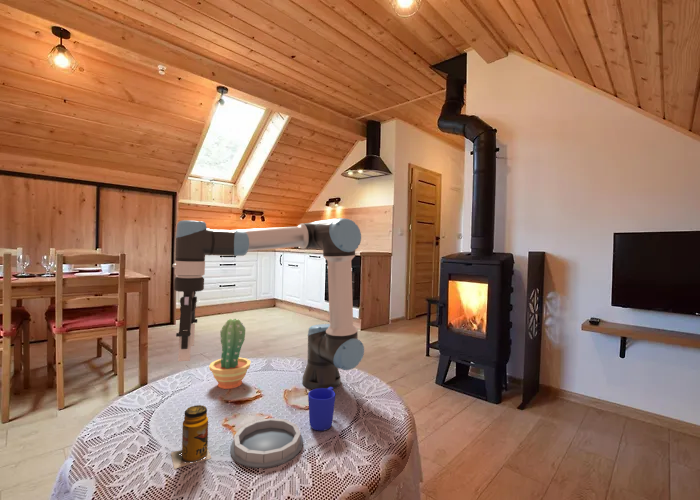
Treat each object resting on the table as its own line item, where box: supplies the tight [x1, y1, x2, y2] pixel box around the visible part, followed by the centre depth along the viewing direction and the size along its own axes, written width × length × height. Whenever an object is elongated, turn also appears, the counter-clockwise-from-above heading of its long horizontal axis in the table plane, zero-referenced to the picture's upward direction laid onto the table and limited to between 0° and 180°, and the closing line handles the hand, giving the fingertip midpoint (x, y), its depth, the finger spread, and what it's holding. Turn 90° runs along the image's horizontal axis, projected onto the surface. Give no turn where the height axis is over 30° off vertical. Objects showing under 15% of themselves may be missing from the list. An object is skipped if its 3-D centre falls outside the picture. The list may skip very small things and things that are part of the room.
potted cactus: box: [208, 318, 252, 390], centre depth 133 cm, size 15×15×25 cm
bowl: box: [230, 417, 304, 469], centre depth 93 cm, size 19×19×3 cm
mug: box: [307, 387, 336, 432], centre depth 106 cm, size 8×12×10 cm
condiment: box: [170, 404, 212, 470], centre depth 88 cm, size 7×8×12 cm
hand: (186, 352), depth 95 cm, fingers open, 13 cm apart
